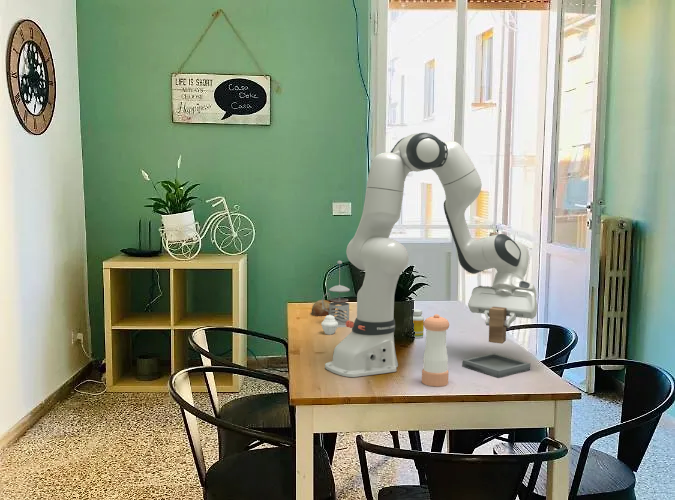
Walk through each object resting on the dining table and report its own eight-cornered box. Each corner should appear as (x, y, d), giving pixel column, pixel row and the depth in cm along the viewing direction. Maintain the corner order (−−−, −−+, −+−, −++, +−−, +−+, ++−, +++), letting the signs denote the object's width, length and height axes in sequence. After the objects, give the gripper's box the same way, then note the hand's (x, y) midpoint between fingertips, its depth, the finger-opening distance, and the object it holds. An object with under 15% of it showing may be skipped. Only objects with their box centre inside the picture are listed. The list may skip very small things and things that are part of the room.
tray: (498, 377, 186) (498, 371, 186) (462, 366, 197) (462, 359, 197) (530, 370, 194) (530, 363, 194) (493, 359, 205) (493, 353, 205)
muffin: (318, 334, 236) (318, 315, 236) (324, 331, 242) (324, 312, 241) (334, 336, 234) (335, 316, 234) (340, 332, 240) (340, 313, 239)
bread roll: (312, 321, 277) (304, 304, 275) (333, 309, 279) (326, 293, 277) (319, 326, 267) (311, 309, 266) (340, 314, 270) (333, 297, 268)
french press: (349, 327, 248) (350, 262, 245) (319, 326, 250) (320, 261, 247) (353, 322, 257) (354, 259, 255) (324, 321, 259) (324, 258, 257)
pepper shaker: (453, 382, 182) (455, 314, 179) (438, 388, 176) (440, 318, 174) (431, 377, 186) (432, 310, 184) (416, 382, 181) (418, 314, 179)
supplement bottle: (405, 336, 234) (405, 310, 233) (414, 334, 238) (414, 308, 237) (417, 339, 231) (418, 312, 230) (426, 336, 235) (427, 310, 234)
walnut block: (502, 343, 192) (503, 310, 191) (488, 341, 194) (489, 308, 193) (505, 340, 196) (506, 307, 195) (492, 339, 198) (493, 306, 197)
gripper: (472, 279, 204) (461, 315, 197) (539, 284, 194) (530, 323, 187) (476, 291, 209) (465, 327, 201) (541, 297, 199) (533, 335, 191)
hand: (497, 325), depth 194 cm, fingers closed on walnut block, 4 cm apart
